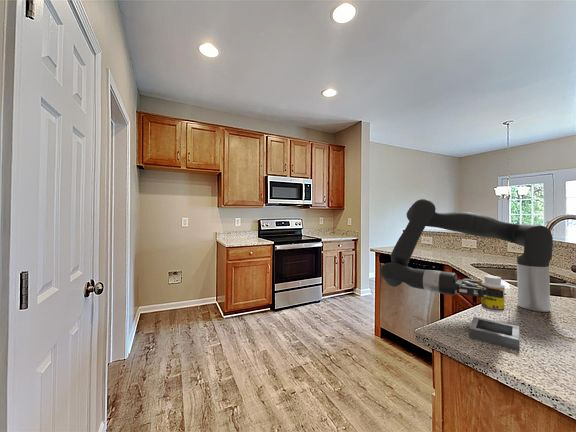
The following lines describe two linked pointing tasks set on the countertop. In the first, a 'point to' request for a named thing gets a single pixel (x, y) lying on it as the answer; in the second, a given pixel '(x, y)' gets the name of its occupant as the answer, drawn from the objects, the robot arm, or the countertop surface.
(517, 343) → the square grey bottle holder
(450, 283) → the robot arm
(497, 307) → the supplement bottle
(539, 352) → the countertop surface
